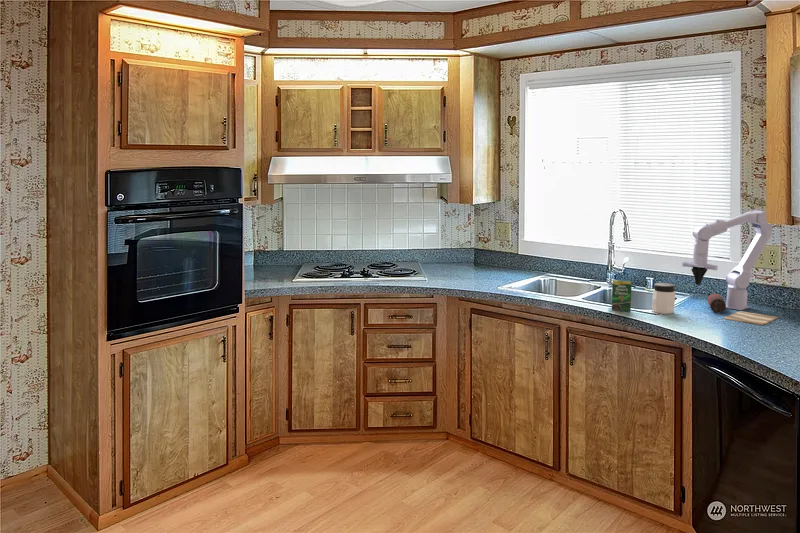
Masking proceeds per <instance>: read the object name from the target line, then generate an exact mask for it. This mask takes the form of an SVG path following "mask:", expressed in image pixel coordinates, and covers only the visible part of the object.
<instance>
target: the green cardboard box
mask: <svg viewBox="0 0 800 533" xmlns="http://www.w3.org/2000/svg"><path fill="white" fill-rule="evenodd" d="M632 284H633V281H632V280H621V279H620V280H618V279H617V280H616V279H612V289H611V290H612V291H611V311H621V312H628V313H629V312H631V308H632V289H633V288H632Z"/></svg>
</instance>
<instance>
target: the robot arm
mask: <svg viewBox="0 0 800 533" xmlns="http://www.w3.org/2000/svg"><path fill="white" fill-rule="evenodd" d="M766 211H767V210H765V211H763V210H758V209H753V210H751V211H746V212H744V213H741V214H739V215H737V216H734V217H732V218H729V219H727V220H723V219H717V218H716V219H715V220H714V221H713V222H711V223H705V224H704V226H701V225H700V226H697V227H695V228H694V230H693V232H692V235H693V237H694V244H693V256H692V262H691V261H683V262H682V265H681V266H682V267H688V268H691V272H692V275H693V278H694V280H695V281H694V282H695V285H697V286H700V285H701V284H702V281H703V278H704V276H705V274H706V273H707V271H708V270H713V271H718V268H719V267H718V265H716V264H710V263H708V257H709V246H710V245H709V243H710V240H711V239H712V237H716V236H718V235H721V234H724V233H726V232H727V231H728V229H729V228H734V227H735V226H739V225H743V224H745V223H748V224H751V225H752V227H753V228H754V230H755V235H754V237H753V239H752V241H751V243H750V244H749V246H748V248H747V249H746V251H745V253H744V255H743V256H742V258H741V259H740V261H739V263H738V265H736V266H735V267H733V268H732V270H731V271H730V272H729V273H727V275H726V277H725V282H726V283H727V290H726V291H727V293H726V302H725V304H726V308H725V309H729V310H737V311H744V310H746V309H749V307H750V306H748V304H747V303H748V295H749V294H748V290H747V288H748V287H749V285H750V280H751V277H752V272H751V271H752V269H753V267H754V265H755V264H756V262H757V260H758V259H759V258H760V255H761V253H762V252H763V251H764V248H765V246H766V245H767V243H768V242H769V240H770V238H771V236H772V234H773V224H772V225H771V224H767V221H766Z"/></svg>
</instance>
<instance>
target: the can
mask: <svg viewBox="0 0 800 533" xmlns="http://www.w3.org/2000/svg"><path fill="white" fill-rule="evenodd" d="M707 305H709V308H710V309H711V311H712V312H714V313H717V314H720V313H722V312H724V311H725V310H726V309H727V308H726V302H725V300H724V298H723V296H722V295H721V294H719V293H711V294H710V295H709V296H708V297H707Z"/></svg>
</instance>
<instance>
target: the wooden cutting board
mask: <svg viewBox="0 0 800 533" xmlns="http://www.w3.org/2000/svg"><path fill="white" fill-rule="evenodd" d="M778 318H779V317H778V316H773V315H766V314H761V313H754V312H749V311H744V310H738V311H737V312H734V313H732V314H729V315H726V316H723V319H724V320H728V321H729V320H730V321H734V322H739V321H740V322H739V323H745V322H746V323H745V324H752V325H757V326H764V325H767V324H768V323H771V322H773V321H775V320H778Z"/></svg>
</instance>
